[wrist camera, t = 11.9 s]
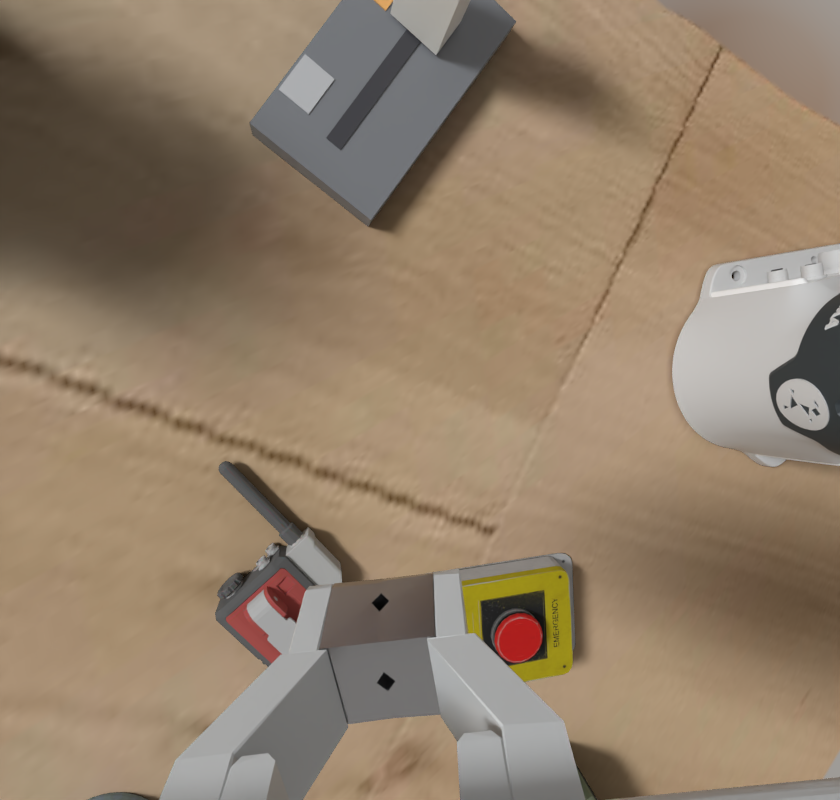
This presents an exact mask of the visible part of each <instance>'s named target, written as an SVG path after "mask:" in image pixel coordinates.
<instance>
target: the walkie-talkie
mask: <svg viewBox="0 0 840 800" xmlns="http://www.w3.org/2000/svg"><path fill="white" fill-rule="evenodd" d="M219 472H220V473H221V474H222V475H223V476H224V477H225V478H226V479H227V480H228V481H229V482H230V483H231V484H232V485H233V486H234V487H235V488H236V489H237V490H238V491H239V492H240V493H241V495H242V496H243V497H244V498H245V499H246V500H247V501H248V502H249V503H250V504H251V505H252V506H253V507H254V508H255V509H256V510H257V511H258V512H259V513H260V514H261V515H262V516H263V517H264V518H265V519H266V520H267V521H268V522H269V523H270V524H271V525H272V526H273V527H274V528H275V529H276V530H277V531H278V532H279V533H280V534H279V536H280V537H281V538H282V539H283V540H284V541H285V542H286V543H287V544H288V545H287V546H279V545H278V546H276V545H275V544H274V543H272V544H271V545H269V546H268V548H267V549H266V550H265V552H266V553H267V554H268V557H267V558H266V557H265V555H264V556H262V557H261V558H260V559H259V560H258V561H257V563H256V565H257V567H256V568H254V569H253V570H252V571H251V572H250V573H249V574H248V575H247V576H246V577H244V578H243V575H242V574H241V573H236V574H234V575H232V576H231V577H230V578H229V579H228V580H227V581H226V582H225V583H224V584H223V585H222V587H221V588H220V589H219V591H218V595H217V596H218V597H219V598H220V602H219V604H218V607H217V610H216V612H215V615H216V620H217V621H218V622H219V623H220V624H221V625H222V626H223V627H224V628H225V629H226V630H227V631H229V632H230V633H231V634H232V635H233V636H234V637H235V638H236V639H237V640H238V641H239V642H240V643H241V644H243V645H244V646H245V647H246V648H247V649H248V650H249V651H250V652H251V653H252V654H253V655H254V656H255V657H257V658H258V659H260V660H261V661H262V663H263V664H266V665H267V666H268V667H269V666H270V665H271V664H272V663H273V662H274V661H275V660H276V659H277V658H278V657H279V656H280V655H282V654H288V652H289V649H290V645H291V641H292V638H293V634H294V630H295V627H296V623H297V619H298V616H299V612H300V608H301V605H302V601H303V597H304V593H305V591H306V590H307V589H308V587H309V586H316V585H327V584H334V583H342V574H341V565H340V562H339V561H338V560H337V559H336V558H335V557H334V556H333V555H332V554H331V553H330V552H329V551H328V550H327V548H326V547H325V546H324V545H323V544H322V543H321V542H320V541H319V540H318V539H317V538H316V537H315V533H314V532H313V531H312V530H311V529H310V528H309V527H308V528H306V529H305V530H304V531H303V532H301V531H300V530H299V529H298V528H297V527H296V526H295V525H294V523H292V522H291V523H290V522H289V521H288V520H287V519H286V518H285V517H284V516H283V515H282V514H281V513H280V512H279V511H278V510H277V509H276V508H275V507H274V506H273V505H272V504H271V503H270V502H269V501H268V500H267V499H266V498H265V497H264V496H263V495H262V494H261V493H260V492H259V491H258V490H257V489H256V488H255V487H254V486H253V485H252V484H251V483H250V482H249V481H248V480H247V479H246V478H245V477H244V476H243V474H242V473H241V472H240V471H239V470H238V469H237V468H236V467H235V466H234V465H233V464H232V463H230V462H227V461H225V462H223V463H221V464H220V466H219Z"/></svg>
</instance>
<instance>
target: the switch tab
mask: <svg viewBox="0 0 840 800" xmlns="http://www.w3.org/2000/svg"><path fill="white" fill-rule="evenodd" d="M469 3H470V0H393V4H392V8H391V13H390V14H391V15H392V16H393V17H395V18H396V19H397V20H398V21H399V22H400V23H401V24H402V25H403V26H404V27H405V28H407V29H408V30H409V31H410V32H411V33H412V34H413V35H414V36H415V37H416V38H418V39H419V40H420V41H421V42H422V43H423V44H424V45H425V46H426V47H427V48H429V49H430V50H431V51H432V52H433V53H434V54H435V55H437V53H438V52H439V51H440V49H441V48H442V47H443V45H444V44H445V43H446V41H447V40H448V39H449V37H450V36H451V34H452V33H453V32H454V30H455V29H456V28H457V26H458V25H459V24H460V22H461V20H462V18H463V16H464V14H465V11H466V9H467V7H468V5H469Z"/></svg>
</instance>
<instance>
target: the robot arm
mask: <svg viewBox="0 0 840 800" xmlns="http://www.w3.org/2000/svg"><path fill="white" fill-rule="evenodd" d="M732 273H733V275H734V279H732ZM672 377H673V387H674V392H675V396H676V400H677V403H678V405H679V408H680V410H681V412H682V414H683V416H684V417H685V419H686V420H687V422H688V423H689V425H690V426H691V427H692V428H693V429H694V430H695V431H696V432H697V433H698V434H699V435H700V436H702V437H703V438H704V439H706V440H708V441H709V442H711V443H713V444H716V445H718V446H722V447H726V448H731V449H736V450H739V451H741V452H744V453H745V454H746V455H747V456H748V457H750V458H751V459H752V460H753V461H755V462H756V463H758V464H759V465H762V466H769V467H776V466H779V465H780V464H782V463H783V462H784V461H786V460H787V459H788V460H796V461H803V462H811V463H819V464H827V465H835V466H840V243H839V244H833V245H826V246H821V247H815V248H809V249H803V250H797V251H791V252H785V253H780V254H774V255H768V256H762V257H756V258H750V259H745V260H739V261H733V262H727V263H721V264H716V265H714V266H712V267H710V269H709V270H708V271H707V273H706V275H705V278H704V282H703V285H702V290H701V294H700V299H699V302H698V304H697V306H696V307H695V309H694V311H693V312H692V314H691V315H690V317H689V318H688V320H687V321H686V323H685V325H684V327H683V329H682V331H681V333H680V335H679V338H678V341H677V344H676V347H675V352H674V357H673V366H672ZM427 715H441V718H442V719H443V721H444V722H445V724H446V725H447V727H448V728H449V730H450V731H451V733H452V734H453V736H454V737H455V739H456V740H457V752H458V769H459V787H460V800H585V797H584V793H583V789H582V786H581V782H580V778H579V775H578V771H577V767H576V764H575V760H574V757H573V753H572V749H571V746H570V742H569V738H568V735H567V731H566V727H565V724H564V721H563V720H562V719H561V718H560V717H559V716H558V715H557V714H556V713H555V712H554V711H553V710H552V709H551V708H550V707H549V706H548V705H547V704H546V703H545V702H544V701H543V700H542V699H541V698H540V697H539V696H538V695H537V694H536V693H535V692H534V691H533V690H532V689H531V688H530V687H529V686H528V685H527V684H526V683H525V682H524V681H523V680H522V679H521V678H520V677H519V676H518V675H517V674H516V673H515V672H514V671H513V670H512V669H511V668H510V667H509V666H508V665H507V664H506V663H505V662H504V661H503V660H502V659H501V658H500V657H499V656H498V655H497V654H496V653H495V652H494V651H493V650H492V649H491V648H490V647H489V646H488V645H487V644H486V643H485V642H484V641H483V640H482V639H481V638H480V637H479V636H478V635H477V634H476V633H470V634H469V633H468V625H467V618H466V611H465V603H464V596H463V589H462V581H461V574H460V570H459V569H452V570H445V571H438V572H434V573H427V574H419V575H411V576H403V577H395V578H387V579H376V580H365V581H354V582H344V583H334V584H327V585H316V586H309V587H308V589H307V590H306V591H305V593H304V597H303V601H302V605H301V608H300V612H299V616H298V619H297V623H296V627H295V630H294V634H293V638H292V641H291V645H290V649H289V652H288V654H282V655H280V656H279V657H278V658H277V659H276V660H275V661H274V662H273V663H272V664H271V665H270V666H269V667H268V668H267V669H266V670H265V671H264V672H263V673H262V674H261V675H260V676H259V677H258V678H257V679H256V680H255V681H254V682H253V683H252V684H251V685H250V686H249V687H248V688H247V689H246V690H245V691H244V692H243V693H242V694H241V695H240V696H239V697H238V698H237V699H236V700H235V701H234V702H233V703H232V704H231V705H230V706H229V707H228V708H227V709H226V710H225V711H224V712H223V713H222V714H221V715H220V716H219V717H218V718H217V719H216V720H215V721H214V722H213V723H212V724H211V725H210V726H209V727H208V728H207V729H206V730H205V731H204V732H203V733H202V734H201V735H200V736H199V737H198V738H197V739H196V740H195V741H194V742H193V743H192V744H191V745H190V746H189V747H188V748H187V749H186V750H185V751H184V752H183V753H182V754H181V755H180V756H179V757H178V758H177V759H176V760H175V763H174V765H173V767H172V770H171V772H170V775H169V777H168V779H167V782H166V784H165V787H164V789H163V791H162V794H161V796H160V799H159V800H303V798H304V797H305V795H306V794H307V792H308V790H309V789H310V787H311V786H312V784H313V782H314V781H315V779H316V778H317V776H318V774H319V773H320V771H321V770H322V768H323V767H324V765H325V763H326V762H327V760H328V759H329V757H330V755H331V754H332V752H333V751H334V749H335V747H336V746H337V744H338V743H339V741H340V739H341V738H342V736H343V735H344V733H345V731H346V730H347V728H348V725H347V724H353V723H360V722H368V721H375V720H383V719H390V718H401V717H414V716H427ZM607 800H840V777H839V778H828V779H817V780H807V781H796V782H786V783H775V784H765V785H754V786H744V787H733V788H723V789H712V790H702V791H691V792H681V793H670V794H660V795H649V796H639V797H628V798H618V799H607Z"/></svg>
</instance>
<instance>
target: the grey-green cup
mask: <svg viewBox="0 0 840 800" xmlns="http://www.w3.org/2000/svg"><path fill="white" fill-rule="evenodd" d="M88 800H148V799H146V798H144V797H141V796H138V795H135V794H131V793H122V792H120V793H108V794H103V795H99V796H96V797H92V798H90V799H88Z"/></svg>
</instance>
